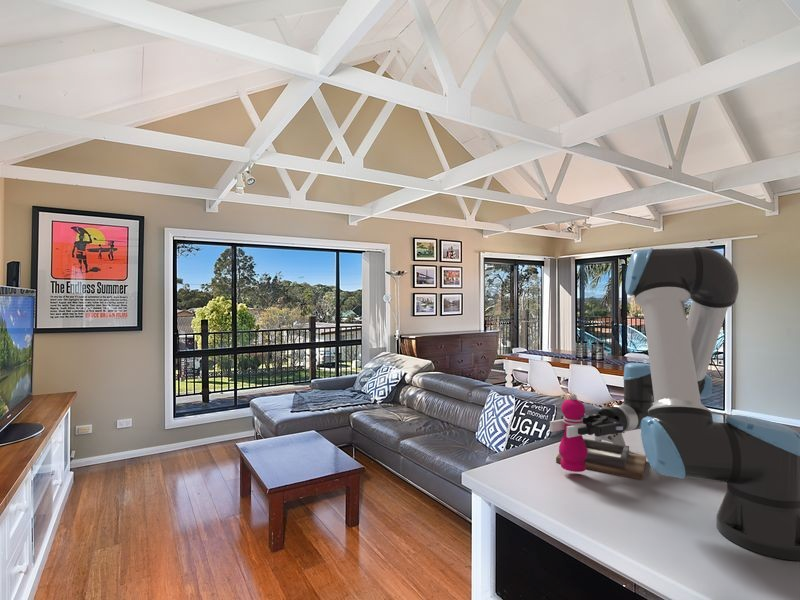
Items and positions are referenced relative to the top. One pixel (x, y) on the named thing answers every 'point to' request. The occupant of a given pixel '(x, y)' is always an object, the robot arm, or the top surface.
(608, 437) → the gaming controller
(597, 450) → the socket board
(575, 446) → the pepper mill
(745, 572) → the top surface
